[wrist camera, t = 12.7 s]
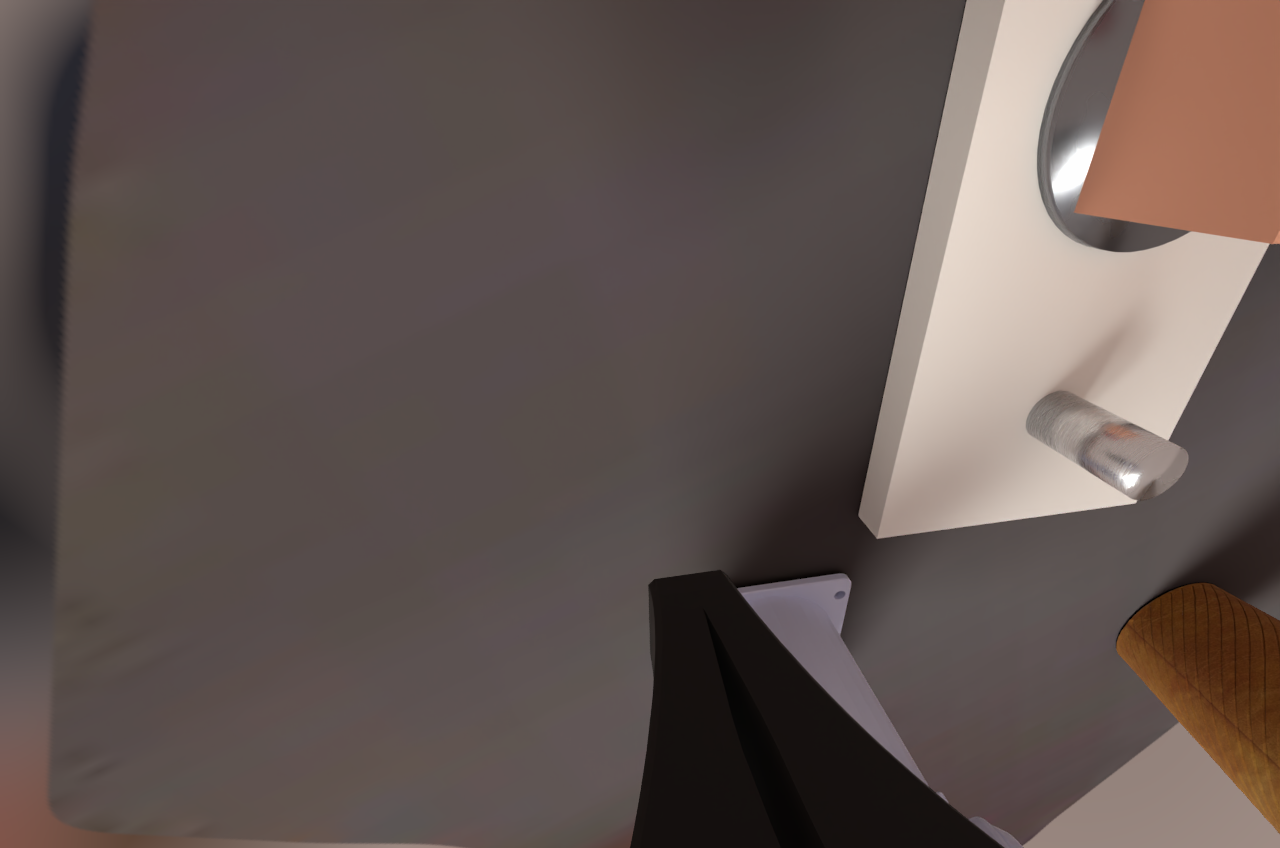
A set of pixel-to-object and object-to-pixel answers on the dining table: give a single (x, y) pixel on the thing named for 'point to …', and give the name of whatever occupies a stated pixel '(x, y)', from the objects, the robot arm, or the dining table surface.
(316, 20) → the dining table surface
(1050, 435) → the stand rod
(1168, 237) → the disc
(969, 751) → the dining table surface
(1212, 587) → the disposable coffee cup
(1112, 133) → the collar
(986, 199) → the board
